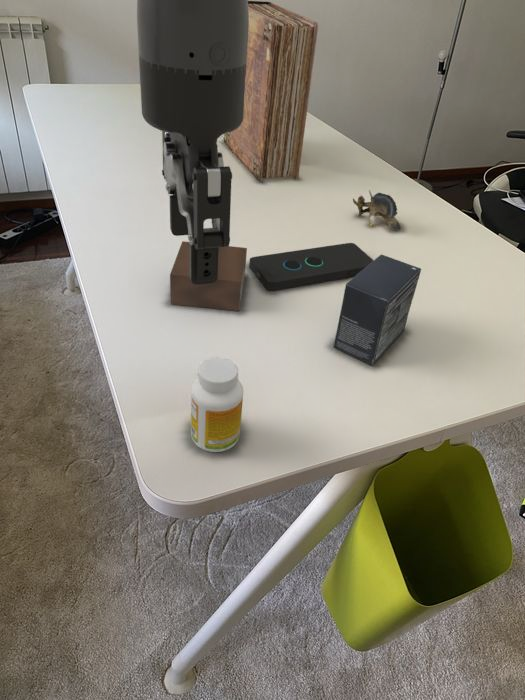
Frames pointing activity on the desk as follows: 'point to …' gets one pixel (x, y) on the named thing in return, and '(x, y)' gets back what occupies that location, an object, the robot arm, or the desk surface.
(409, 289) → the small box
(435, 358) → the desk surface
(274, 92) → the book
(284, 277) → the smart home device
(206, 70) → the robot arm
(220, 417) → the supplement bottle
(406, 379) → the desk surface
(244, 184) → the desk surface
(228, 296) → the walnut block
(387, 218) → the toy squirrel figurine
